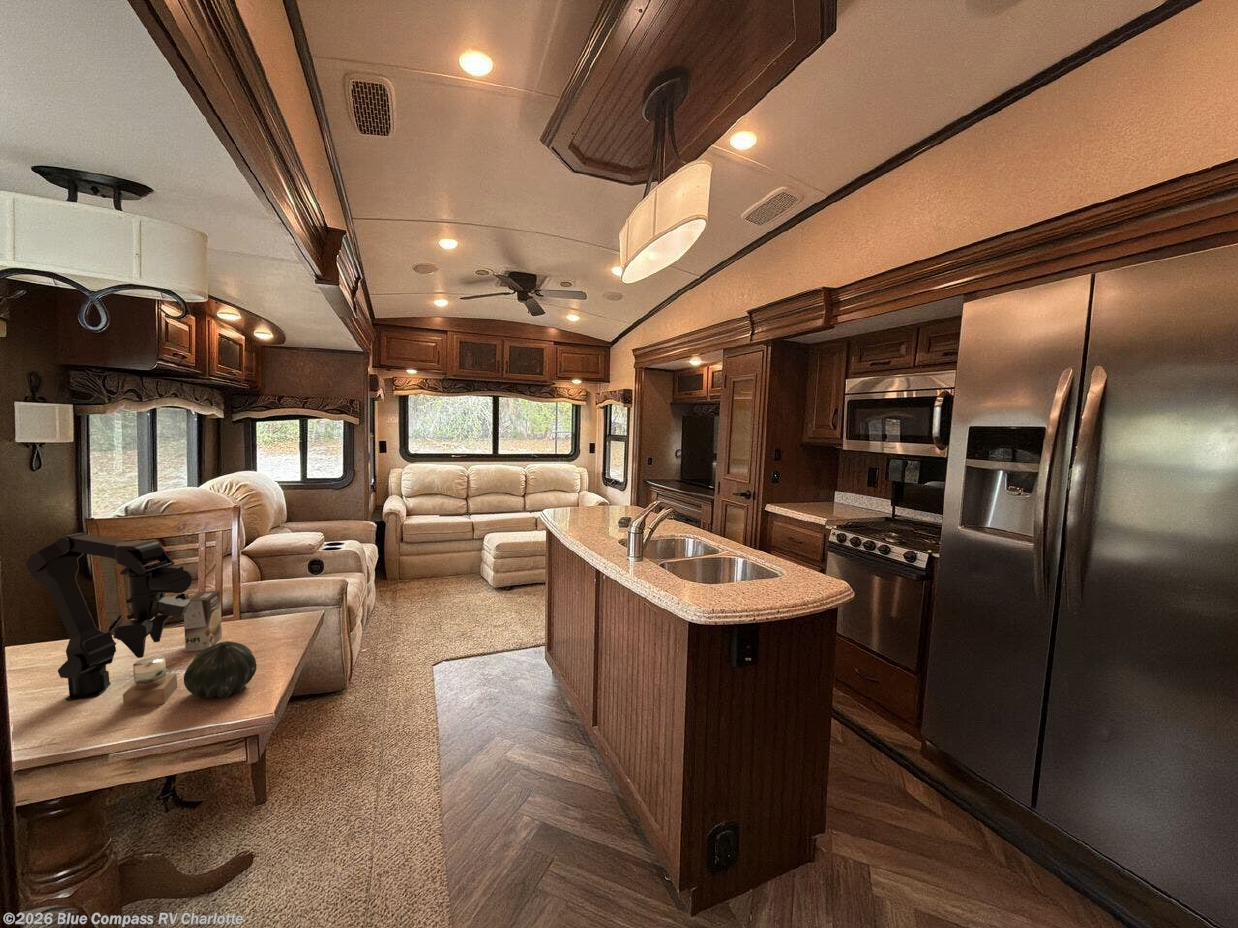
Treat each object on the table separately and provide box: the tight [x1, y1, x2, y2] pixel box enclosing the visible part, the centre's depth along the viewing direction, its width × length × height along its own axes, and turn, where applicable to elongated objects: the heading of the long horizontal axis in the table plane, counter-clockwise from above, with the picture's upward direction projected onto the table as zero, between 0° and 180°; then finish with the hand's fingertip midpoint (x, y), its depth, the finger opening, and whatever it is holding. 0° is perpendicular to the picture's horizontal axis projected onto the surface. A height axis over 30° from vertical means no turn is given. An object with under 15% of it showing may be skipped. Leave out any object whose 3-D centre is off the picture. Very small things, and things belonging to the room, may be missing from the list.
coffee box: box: [183, 590, 223, 652], centre depth 160 cm, size 9×6×16 cm
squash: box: [183, 640, 258, 699], centre depth 134 cm, size 14×15×15 cm
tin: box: [132, 655, 167, 690], centre depth 130 cm, size 6×6×6 cm
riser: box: [122, 673, 178, 711], centre depth 131 cm, size 8×8×4 cm
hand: (149, 649), depth 130 cm, fingers open, 9 cm apart
